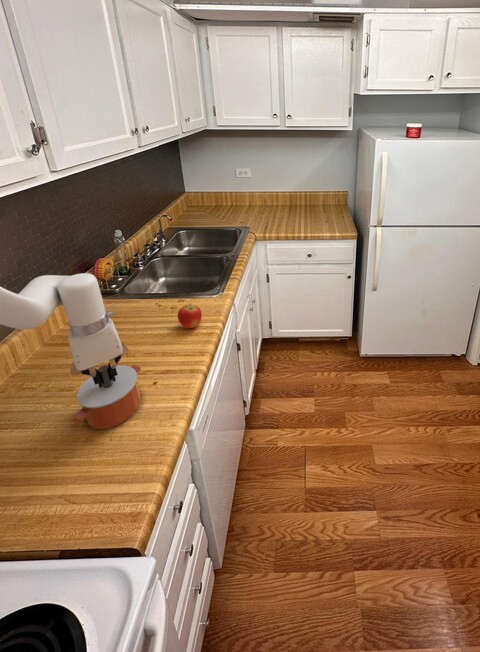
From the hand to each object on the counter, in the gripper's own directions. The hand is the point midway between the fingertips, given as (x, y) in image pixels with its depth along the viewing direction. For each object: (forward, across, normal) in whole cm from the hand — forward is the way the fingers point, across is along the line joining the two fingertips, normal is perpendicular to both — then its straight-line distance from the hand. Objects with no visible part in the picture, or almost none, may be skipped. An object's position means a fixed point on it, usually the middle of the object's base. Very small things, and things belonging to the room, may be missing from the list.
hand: (106, 380), depth 87 cm
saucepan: (+10, 0, 0) cm, 10 cm away
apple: (+10, -29, -22) cm, 38 cm away
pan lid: (+2, 0, 0) cm, 2 cm away
